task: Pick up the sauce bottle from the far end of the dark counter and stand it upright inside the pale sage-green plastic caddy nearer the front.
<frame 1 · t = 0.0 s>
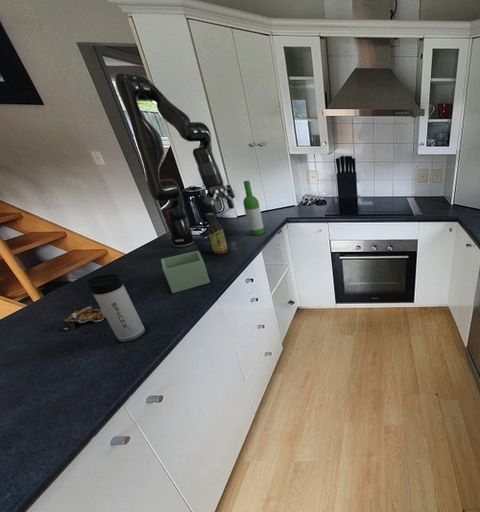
hand: (223, 211, 122), 22 cm above the worktop, tool pointing down, fingers open, 8 cm apart
travel mug: (131, 335, 83), on the worktop
caddy: (189, 281, 110), on the worktop
wine bottle: (257, 233, 158), on the worktop
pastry: (92, 318, 89), on the worktop
sauce bottle: (221, 252, 135), on the worktop
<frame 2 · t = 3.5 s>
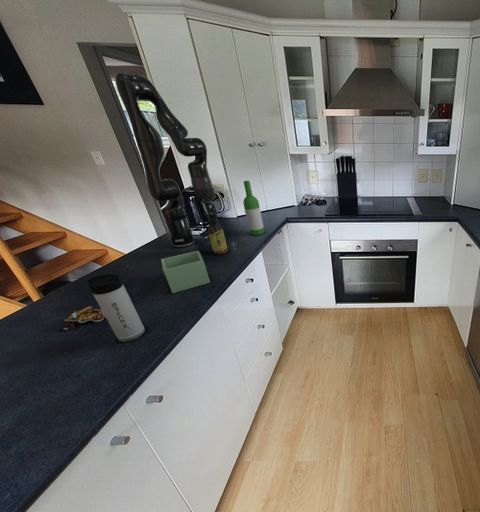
hand: (213, 223, 128), 15 cm above the worktop, tool pointing down, fingers closed on sauce bottle, 4 cm apart
sauce bottle: (221, 252, 135), on the worktop, touching gripper
everything else where it was.
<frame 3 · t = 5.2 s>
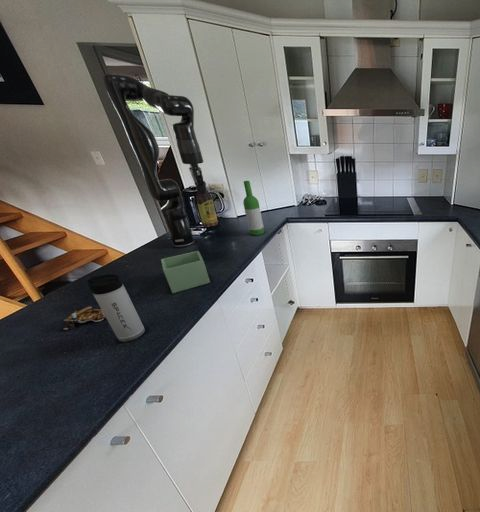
hand: (201, 192, 120), 30 cm above the worktop, tool pointing down, fingers closed on sauce bottle, 4 cm apart
sauce bottle: (211, 225, 127), point 15 cm above the worktop, touching gripper
everything else where it was.
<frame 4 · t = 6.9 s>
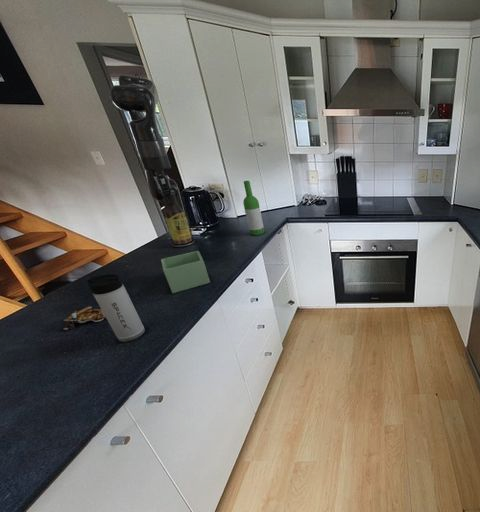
hand: (170, 203, 100), 31 cm above the worktop, tool pointing down, fingers closed on sauce bottle, 4 cm apart
sauce bottle: (184, 242, 107), point 16 cm above the worktop, touching gripper
everything else where it was.
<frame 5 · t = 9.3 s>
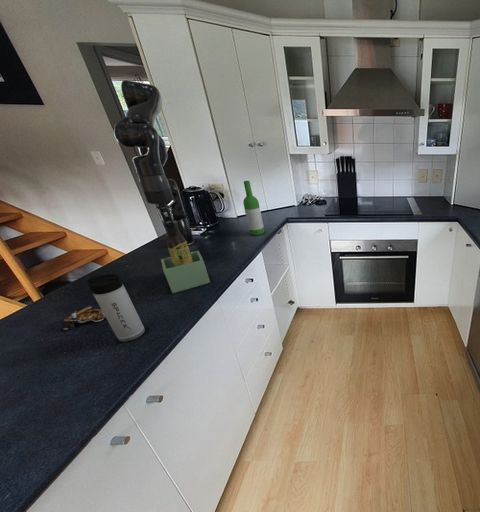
hand: (173, 234, 101), 21 cm above the worktop, tool pointing down, fingers closed on sauce bottle, 4 cm apart
sauce bottle: (186, 270, 108), point 5 cm above the worktop, touching gripper
everything else where it was.
when the fingers open (16 cm above the worktop, at t = 10.8 s): sauce bottle stays where it is, resting on caddy.
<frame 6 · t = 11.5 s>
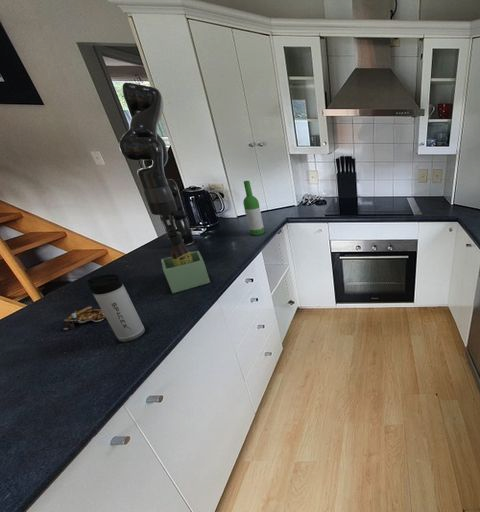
hand: (175, 241, 102), 18 cm above the worktop, tool pointing down, fingers open, 8 cm apart
sauce bottle: (189, 279, 110), point 1 cm above the worktop, touching caddy
everything else where it was.
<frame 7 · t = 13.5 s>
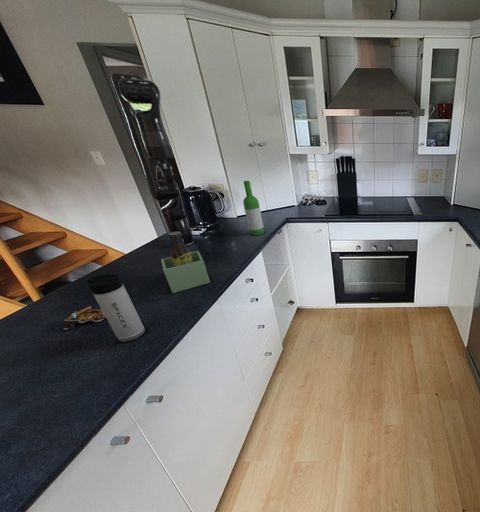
hand: (172, 189, 106), 35 cm above the worktop, tool pointing down, fingers open, 8 cm apart
nothing on the worktop moved.
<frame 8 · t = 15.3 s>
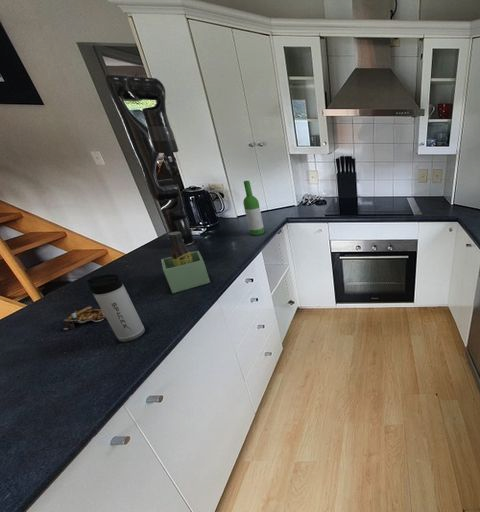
hand: (176, 182, 111), 36 cm above the worktop, tool pointing down, fingers open, 8 cm apart
nothing on the worktop moved.
at the end: sauce bottle inside the target area in the caddy (0.1 cm from its centre), point 0.8 cm above the caddy's base; sauce bottle tilted 0° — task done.
